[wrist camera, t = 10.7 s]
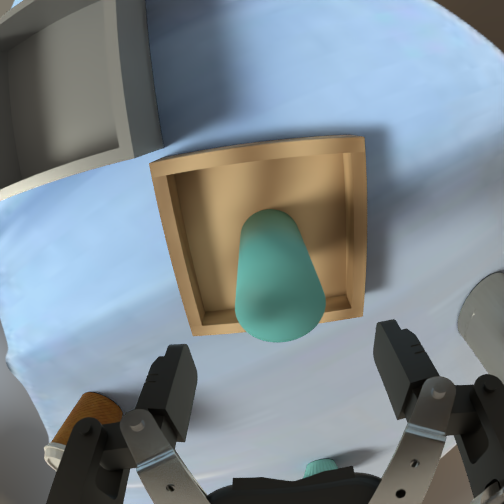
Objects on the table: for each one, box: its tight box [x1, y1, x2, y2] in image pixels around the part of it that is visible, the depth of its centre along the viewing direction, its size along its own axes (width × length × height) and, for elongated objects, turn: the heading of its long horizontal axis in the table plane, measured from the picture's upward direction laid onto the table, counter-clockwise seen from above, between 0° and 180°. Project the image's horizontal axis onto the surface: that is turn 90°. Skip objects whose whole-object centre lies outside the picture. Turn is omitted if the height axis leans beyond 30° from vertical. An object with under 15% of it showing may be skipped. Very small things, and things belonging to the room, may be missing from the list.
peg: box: [235, 209, 326, 342], centre depth 18 cm, size 4×4×9 cm
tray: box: [149, 135, 367, 336], centre depth 22 cm, size 14×14×3 cm
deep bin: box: [0, 0, 164, 201], centre depth 15 cm, size 15×15×6 cm
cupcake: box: [303, 459, 338, 478], centre depth 35 cm, size 9×8×12 cm
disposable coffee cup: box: [44, 392, 123, 471], centre depth 28 cm, size 10×10×12 cm
